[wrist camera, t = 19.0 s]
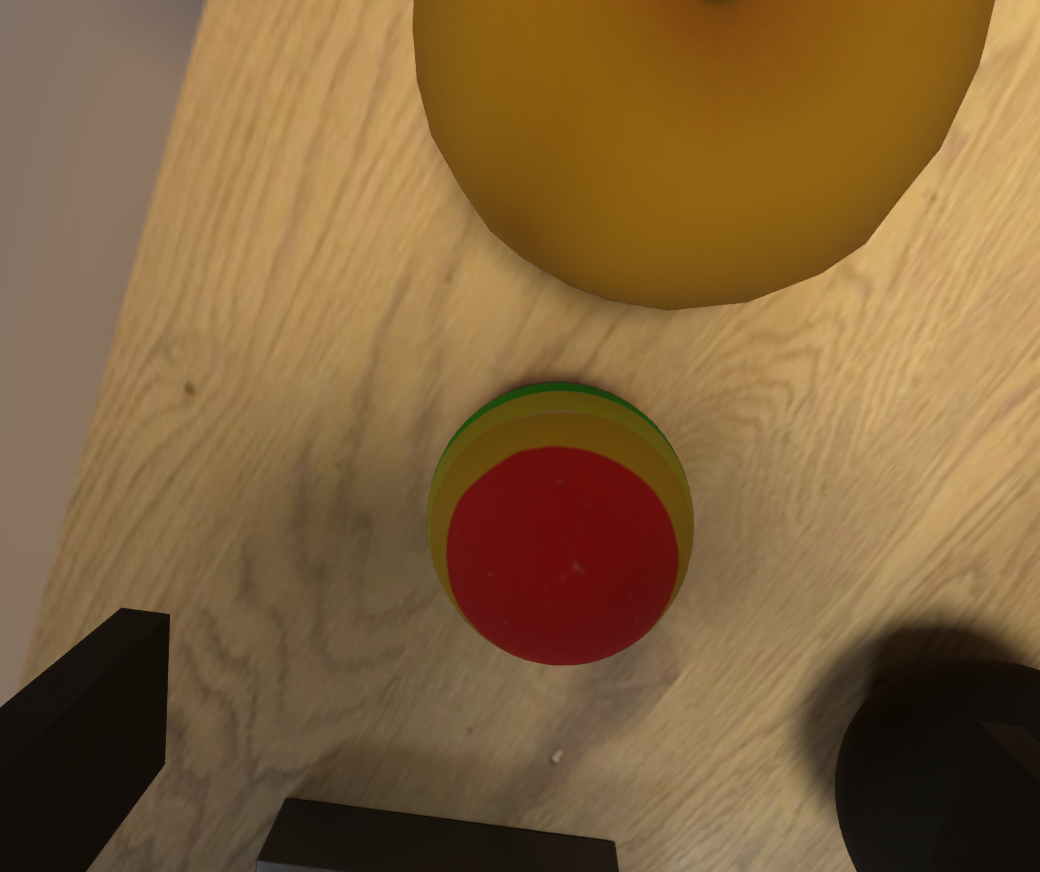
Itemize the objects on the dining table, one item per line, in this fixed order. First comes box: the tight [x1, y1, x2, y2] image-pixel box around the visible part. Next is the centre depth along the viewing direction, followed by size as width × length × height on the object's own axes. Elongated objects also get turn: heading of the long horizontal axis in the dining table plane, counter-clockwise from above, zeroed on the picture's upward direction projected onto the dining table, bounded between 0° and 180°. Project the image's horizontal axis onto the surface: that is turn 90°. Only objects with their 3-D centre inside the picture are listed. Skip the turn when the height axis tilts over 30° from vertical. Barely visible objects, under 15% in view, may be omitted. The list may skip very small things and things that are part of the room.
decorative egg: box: [427, 382, 694, 665], centre depth 21 cm, size 8×8×10 cm
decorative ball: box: [835, 659, 1040, 872], centre depth 23 cm, size 10×10×10 cm
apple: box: [413, 0, 995, 310], centre depth 17 cm, size 13×13×11 cm
